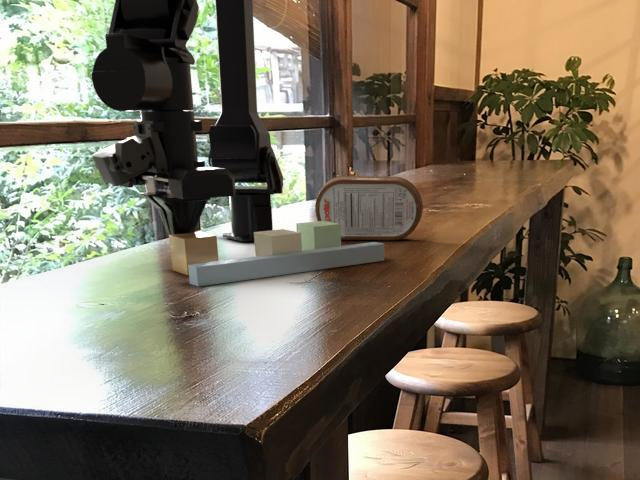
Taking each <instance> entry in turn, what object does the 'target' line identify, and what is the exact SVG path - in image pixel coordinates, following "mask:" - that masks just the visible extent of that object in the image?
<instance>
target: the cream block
mask: <svg viewBox="0 0 640 480" xmlns="http://www.w3.org/2000/svg"><path fill="white" fill-rule="evenodd" d="M253 242H254V257H256V256H264V255H272V254H280V253H288V252H297V251H302V240H301V233H300V232H297V231H296V230H295V231H294V230H290V229H283V228H281V229H280V228H279V229H273V230H270V231H261V232H254V241H253Z"/></svg>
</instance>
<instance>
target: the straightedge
mask: <svg viewBox="0 0 640 480" xmlns="http://www.w3.org/2000/svg"><path fill="white" fill-rule="evenodd" d="M384 261H385V243H383V242H377V241H370V242H364V243H363V242H362V243H355V244H348V245H347V244H346V245H341V246H337V247H329V248H321V249H313V250H305V251H297V252H288V253H280V254H272V255H264V256H256V257H255V256H248V257H241V258H231V259H224V260H219V261H215V262H207V263H199V264H191V265H188V270H189V275H188V276H189V278H188V279H189V284H190V285H192V286H195V287H197V288H199V287H205V286H211V285H219V284H226V283H234V282H242V281H248V280H255V279H256V280H257V279H263V278H269V277H270V278H271V277H276V276H284V275H290V274H291V275H292V274H299V273H306V272H313V271H319V270H326V269H334V268H341V267H349V266H355V265H363V264H369V263H377V262H384Z"/></svg>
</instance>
